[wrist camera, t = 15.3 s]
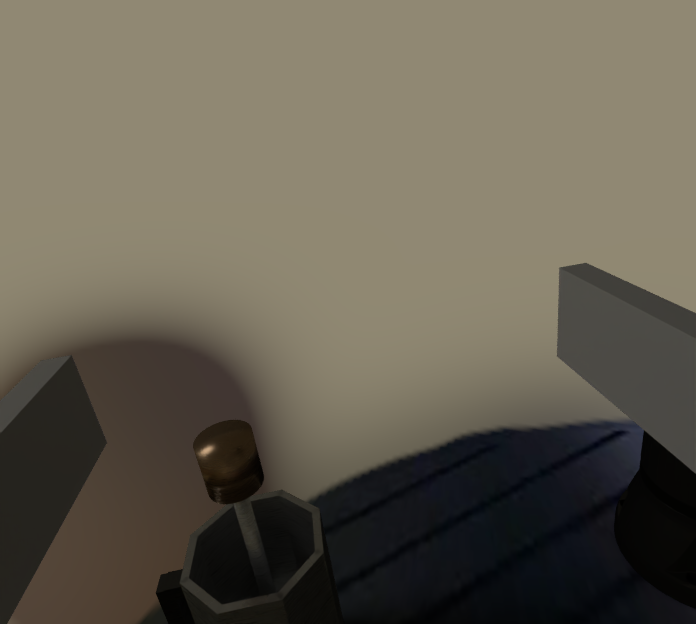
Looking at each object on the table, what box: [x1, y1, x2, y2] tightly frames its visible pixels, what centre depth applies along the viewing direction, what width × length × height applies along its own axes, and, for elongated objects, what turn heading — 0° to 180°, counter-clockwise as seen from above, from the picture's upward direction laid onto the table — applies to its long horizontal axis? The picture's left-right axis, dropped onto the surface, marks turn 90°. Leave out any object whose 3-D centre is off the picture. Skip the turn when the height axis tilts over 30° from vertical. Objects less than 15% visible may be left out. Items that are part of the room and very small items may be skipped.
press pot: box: [156, 490, 344, 624], centre depth 40 cm, size 13×11×17 cm
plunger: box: [193, 420, 276, 596], centre depth 38 cm, size 7×7×25 cm
